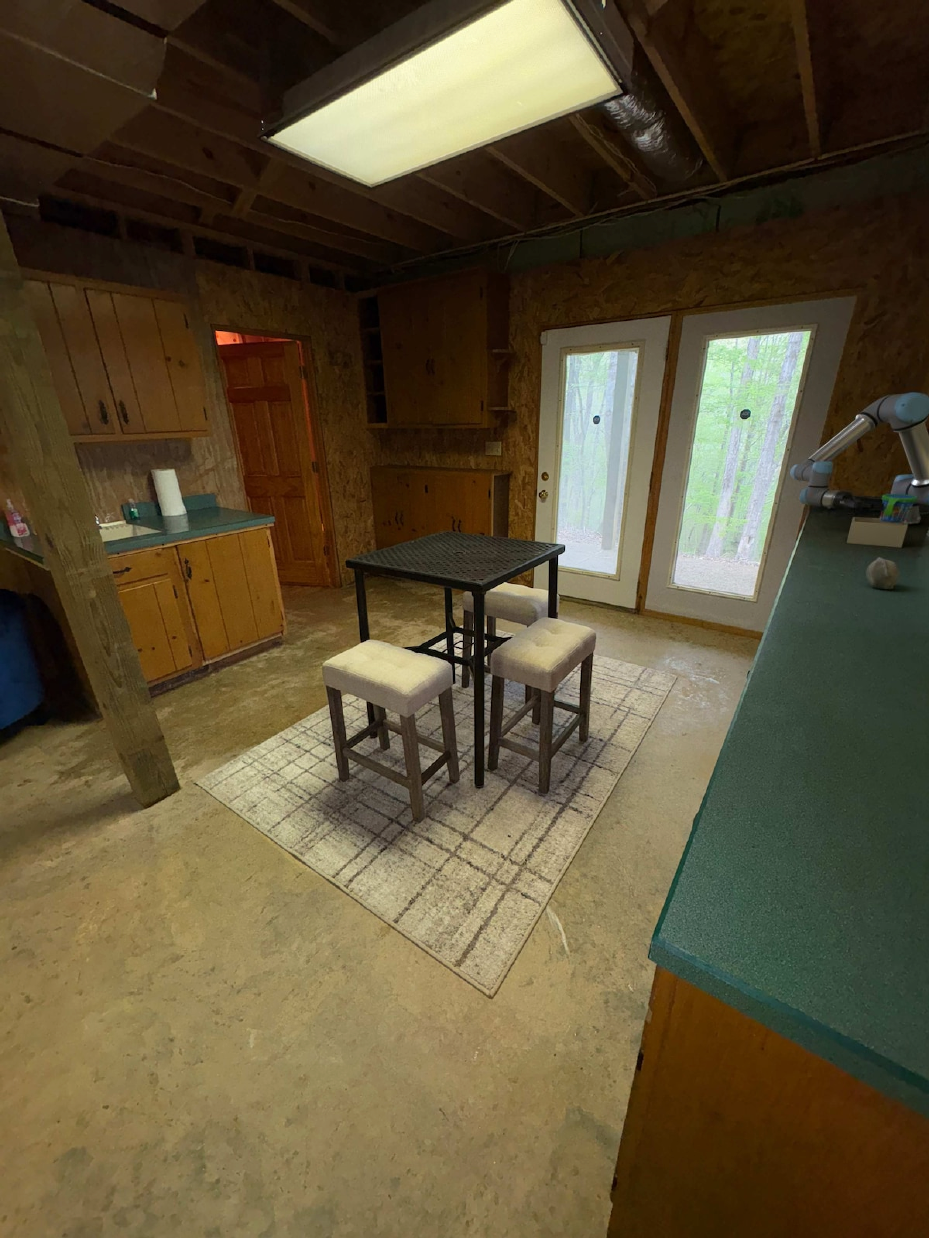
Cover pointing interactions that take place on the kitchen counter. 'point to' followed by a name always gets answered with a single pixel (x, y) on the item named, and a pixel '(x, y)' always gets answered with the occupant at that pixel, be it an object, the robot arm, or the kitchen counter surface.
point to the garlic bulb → (882, 574)
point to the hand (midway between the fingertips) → (893, 505)
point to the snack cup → (896, 507)
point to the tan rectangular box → (876, 532)
